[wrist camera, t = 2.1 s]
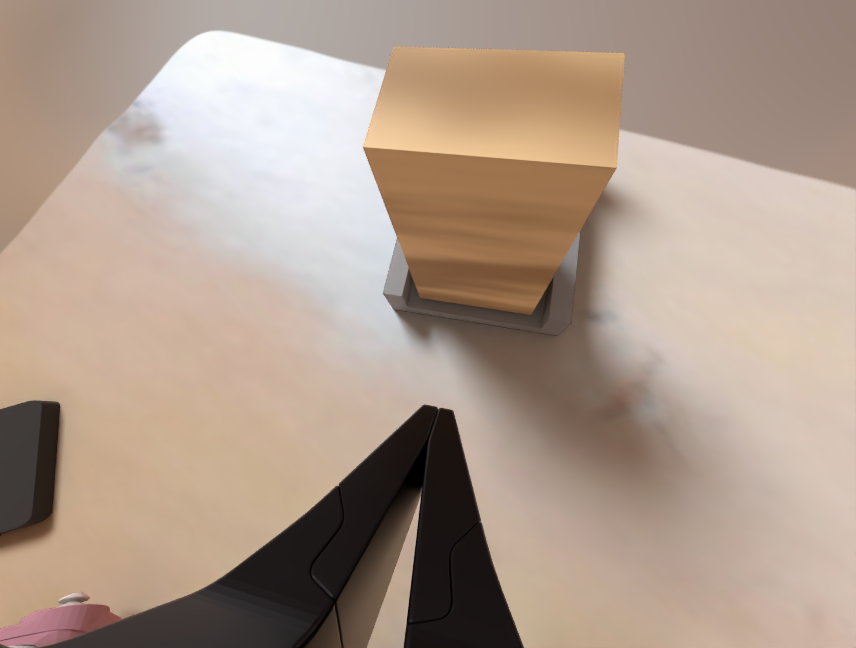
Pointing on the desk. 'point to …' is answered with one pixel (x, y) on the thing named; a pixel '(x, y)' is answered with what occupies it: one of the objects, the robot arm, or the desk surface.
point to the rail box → (545, 318)
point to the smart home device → (27, 463)
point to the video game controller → (57, 623)
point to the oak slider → (493, 164)
